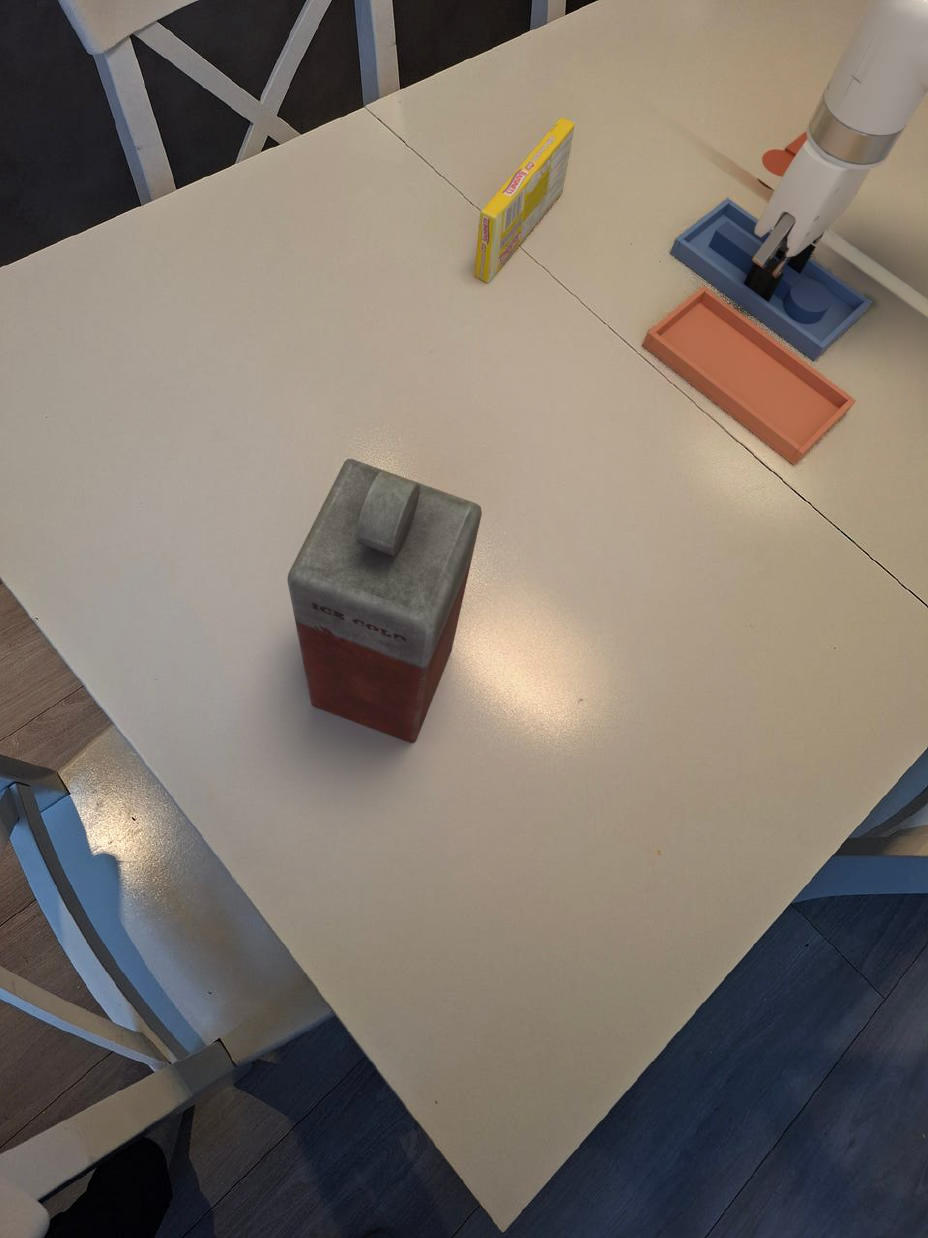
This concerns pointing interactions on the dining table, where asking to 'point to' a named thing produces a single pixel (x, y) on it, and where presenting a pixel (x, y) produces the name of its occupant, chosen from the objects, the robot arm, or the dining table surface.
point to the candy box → (523, 200)
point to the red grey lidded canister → (381, 596)
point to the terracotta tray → (748, 374)
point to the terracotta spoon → (782, 157)
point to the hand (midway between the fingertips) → (771, 280)
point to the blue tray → (730, 281)
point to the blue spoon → (798, 296)
